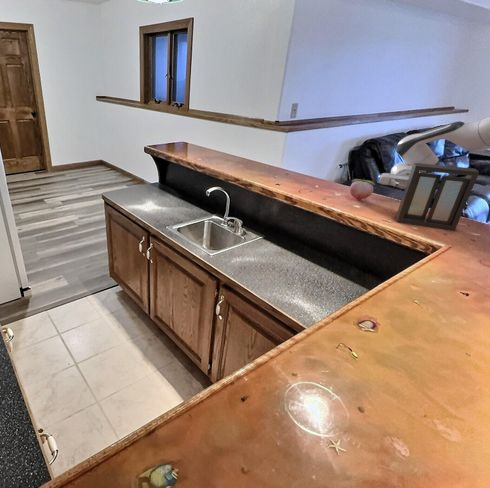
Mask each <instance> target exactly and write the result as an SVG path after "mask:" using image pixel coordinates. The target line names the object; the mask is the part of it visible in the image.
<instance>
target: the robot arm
mask: <svg viewBox="0 0 490 488" xmlns="http://www.w3.org/2000/svg"><path fill="white" fill-rule="evenodd" d="M438 140H446V141H449V142H451V143H453V144H454V145H457V146H458V147H460V148H461V149H462V150H465V151H469V152H474V153H479V152H485V151H487V150H490V116H488V117H485V118H484V119H480V120H477V121H472V122H465V121H464V122H463V121H455V122H450V123H447V124H444V125H440V126H437V127H434V128H430V129H428V130H425V131H421V132H418V133H412V134H410V135H407V136H404V137H403V138H402V139H400V140H399V141H398V142H397V145H396V150H395V151H396V153H397V154H398V156H400V157H401V158H402V159H403V160H404V161H401V162H397V163H396V164H394V165H393V166H392V168H391V170H390V172H383V173H381V174H378V177H377V178H378V179H379V181H378V183H379V184H380V185H384V186H393V187H396V188H398V189H403V190H405V188H406V185H407V182H408V179H409V176H410V173H411V170H412V167H413V164H414V163H420V164H431V165H439V164H440V163H439V162H440V159H439V158H438V156H437V154H435V152H434V151H433V150H432V149H431V148H430V147H429V145H428V144H427V143H430V142H434V141H438ZM419 172H420V173H429V174H432V172H430V171H420V170H419Z"/></svg>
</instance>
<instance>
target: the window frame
mask: <svg viewBox="0 0 490 488" xmlns="http://www.w3.org/2000/svg"><path fill="white" fill-rule="evenodd" d="M419 170H420V171H430V172H431V173H439V174H440V173H441V174H450V176H448V175H442V176H441V178H440V181H439V184H438V186H437V189H436V192H435V194H434V197H433V200H432V202H431V205H430V208H429V210H428V213H427V216H426V218H425V219H418V218H411V217H404V215H405V212H406V209H407V206H408V203H409V200H410V197H411V194H412V191H413V188H414V185H415V182H416V179H417V176H418V174H419ZM479 174H480V171H479V170H477V169H476V168H472V167H461V166H451V165H443V164H442V165H441V164H438V165H431V164H420V163H414V164H413V167H412V170H411V173H410V176H409V179H408V182H407V185H406V188H405V189H404V190H403V194H402V197H401V200H400V202H399V206H398V209H397V212H396V216H395V220H396V222H397V223H400V224H405V225H406V224H407V225H413V226H421V227H426V228H435V229H439V230H440V229H441V230H447V231H456V229H457V226H458V224H459V222H460V220H461V218H462V215H463V212H464V210H465V207H466V205H467V202H468V200H469V198H470V196H471V193H472V191H473V189H474V187H475V184H476V181H477V179H478V177H479ZM451 175H461V176H465V177H459V176H458V177H457V176H451Z"/></svg>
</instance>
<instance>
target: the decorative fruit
mask: <svg viewBox="0 0 490 488" xmlns="http://www.w3.org/2000/svg"><path fill="white" fill-rule="evenodd" d="M374 186H376V183H374V182H373V181H372V180H367V179H365V177H363V179H361V178H355V179H353V180H351V184H350V186H349V193H350V195H351V196H352V197H353V198H355V199H356V200H358V201H361V200H364V199H367V198H369V197H371V196H372V195H373V193H374Z"/></svg>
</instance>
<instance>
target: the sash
mask: <svg viewBox="0 0 490 488" xmlns="http://www.w3.org/2000/svg"><path fill="white" fill-rule="evenodd" d="M441 179H442V174H440V173H439V174H438V173H430V174H429V173H420V172H419V174H418V176H417V179H416V182H415V185H414V188H413V191H412V194H411V197H410V200H409V203H408V206H407V209H406V212H405V215H404V217H411V218H418V219H425V218H427V216H428V214H429V211H430V208H431V206H432V203H433V200H434V198H435V195H436V192H437V190H438V187H439V184H440V182H441Z"/></svg>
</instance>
